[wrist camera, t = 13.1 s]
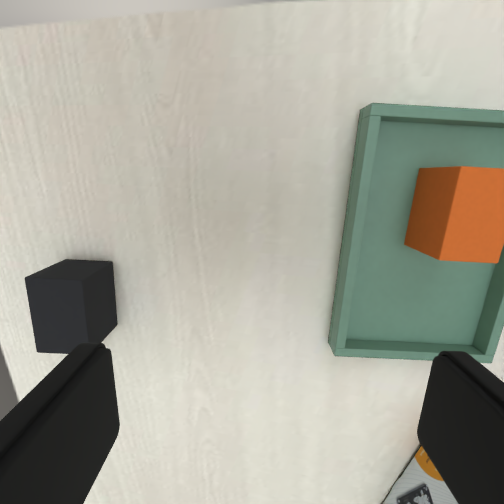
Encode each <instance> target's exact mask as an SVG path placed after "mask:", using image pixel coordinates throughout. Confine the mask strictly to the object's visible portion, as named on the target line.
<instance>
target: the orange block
mask: <svg viewBox="0 0 504 504" xmlns="http://www.w3.org/2000/svg"><path fill="white" fill-rule="evenodd" d="M404 245H406V246H408V247H411V248H413V249H415V250H417V251H419V252H422V253H424V254H426V255H428V256H431V257H433V258H435V259H437V260H441V261H460V262H479V263H498V262H499V258H500V255H501V251H502V248H503V245H504V169H503V168H486V167H468V166H453V167H432V168H419V172H418V177H417V182H416V187H415V192H414V197H413V202H412V207H411V212H410V217H409V222H408V227H407V232H406V237H405V242H404Z"/></svg>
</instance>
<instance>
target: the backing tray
mask: <svg viewBox="0 0 504 504" xmlns="http://www.w3.org/2000/svg"><path fill="white" fill-rule="evenodd" d="M453 166H468V167H486V168H503V169H504V111H502V110H485V109H468V108H451V107H434V106H417V105H401V104H384V103H371V104H369V105H368V106H366V107H365V108H363V109H361V110H360V117H359V124H358V131H357V138H356V145H355V152H354V160H353V167H352V174H351V181H350V188H349V196H348V203H347V210H346V217H345V224H344V231H343V239H342V246H341V253H340V260H339V267H338V275H337V282H336V289H335V296H334V303H333V310H332V318H331V325H330V332H329V339H328V343H329V345H330V347H331V350H332V352H333V354H334V356H344V357H366V358H388V359H410V360H432V361H433V359H434V358H435V356H438V354H439V353H440V352H441V351H463V352H466V353H468V354H469V355H471V356H472V357H473V358H474V359H475V360H477V361H478V362H479V363H492V360H493V357H494V354H495V351H496V348H497V345H498V342H499V338H500V335H501V332H502V329H503V326H504V245H503V248H502V251H501V255H500V258H499V262H498V263H479V262H460V261H441V260H437V259H435V258H433V257H431V256H428V255H426V254H424V253H422V252H419V251H417V250H415V249H413V248H411V247H408V246H406V245H404V242H405V237H406V232H407V227H408V222H409V217H410V212H411V207H412V202H413V197H414V192H415V187H416V182H417V177H418V172H419V168H432V167H453Z"/></svg>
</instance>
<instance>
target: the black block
mask: <svg viewBox="0 0 504 504" xmlns="http://www.w3.org/2000/svg"><path fill="white" fill-rule="evenodd" d="M25 283H26V289H27V295H28V301H29V307H30V313H31V319H32V325H33V331H34V337H35V343H36V349H37V352H40V353H62V354H69V353H70V352H71V351H72V350H73V349H74V348H75V347H76V346H77V345H79V344H80V343H101V342H102V341H103V340H104V339H105V338H106V337H107V336H108V334H109V333H110V332H111V331H112V330H113V329H114V328H115V327H116V326H117V315H116V302H115V289H114V277H113V264H112V262H108V261H88V260H68V259H65V260H63V261H61V262H59V263H56V264H54V265H52V266H50V267H47V268H45V269H43V270H41V271H38V272H36V273H34V274H32V275H30V276H27V277H25Z"/></svg>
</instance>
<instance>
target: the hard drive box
mask: <svg viewBox="0 0 504 504" xmlns="http://www.w3.org/2000/svg"><path fill="white" fill-rule="evenodd" d="M383 504H458V503H457V501H456V499H455V498H454V496H453V495H452V493H451V491H450V490H449V488H448V487H447V485H446V484H445V482H444V480H443V479H442V477H441V476H440V474H439V472H438V471H437V469H436V468H435V466H434V465H433V463H432V461H431V460H430V458H429V457H428V455H427V453H426V452H425V450H424V449H423V447H422V446H421V447H420V449H419V450H418V451H417V453H416V455H415V456H414V458H413V459H412V461H411V462H410V464H409V465H408V467H407V468H406V469H405V471H404V472H403V474H402V476H401V477H400V478H399V479H398V480H397V481H396V483H395V484H394V486H393V487H392V489H391V492H390V494H389V495H388V496H387V498H386V499H385V501H384V503H383Z"/></svg>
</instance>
